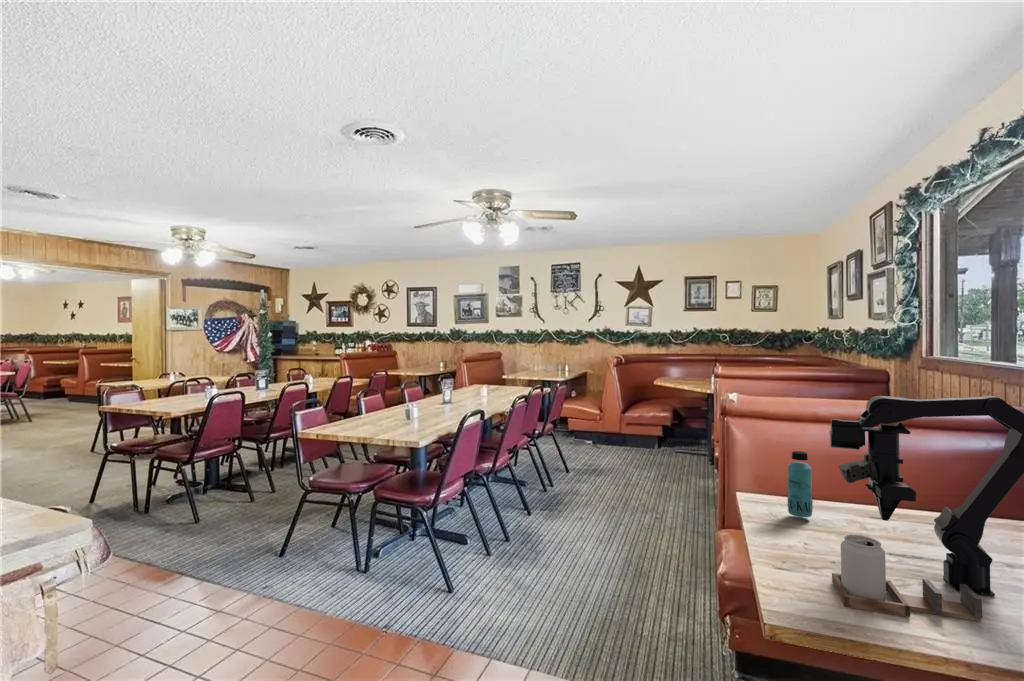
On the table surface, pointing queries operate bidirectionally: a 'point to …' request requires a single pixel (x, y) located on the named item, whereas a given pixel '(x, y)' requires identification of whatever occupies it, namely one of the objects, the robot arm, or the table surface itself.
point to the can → (863, 567)
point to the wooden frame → (916, 601)
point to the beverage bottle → (799, 486)
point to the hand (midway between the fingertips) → (884, 520)
